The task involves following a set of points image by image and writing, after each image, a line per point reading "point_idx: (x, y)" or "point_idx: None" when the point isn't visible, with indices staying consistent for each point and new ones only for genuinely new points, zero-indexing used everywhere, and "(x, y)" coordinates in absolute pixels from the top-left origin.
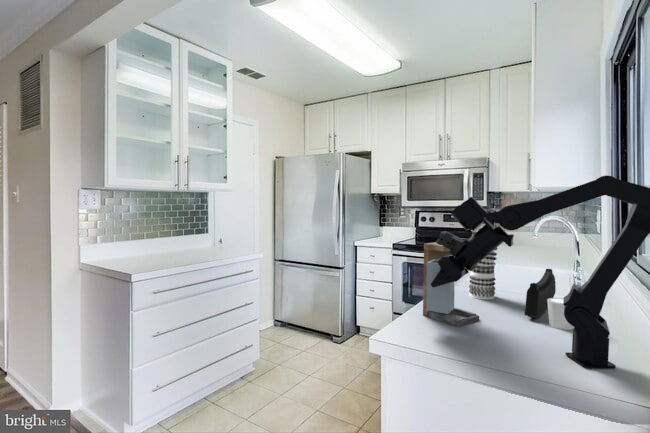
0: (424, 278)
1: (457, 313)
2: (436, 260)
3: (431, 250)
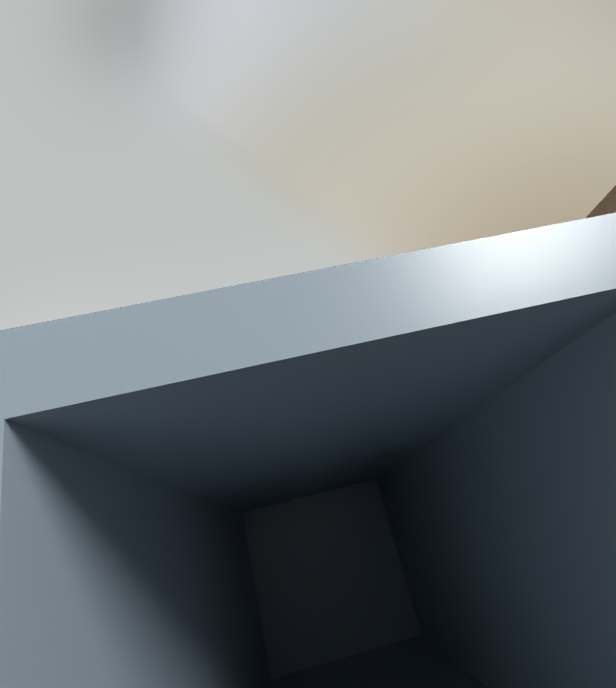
0: (613, 198)
1: None
2: None
3: None
